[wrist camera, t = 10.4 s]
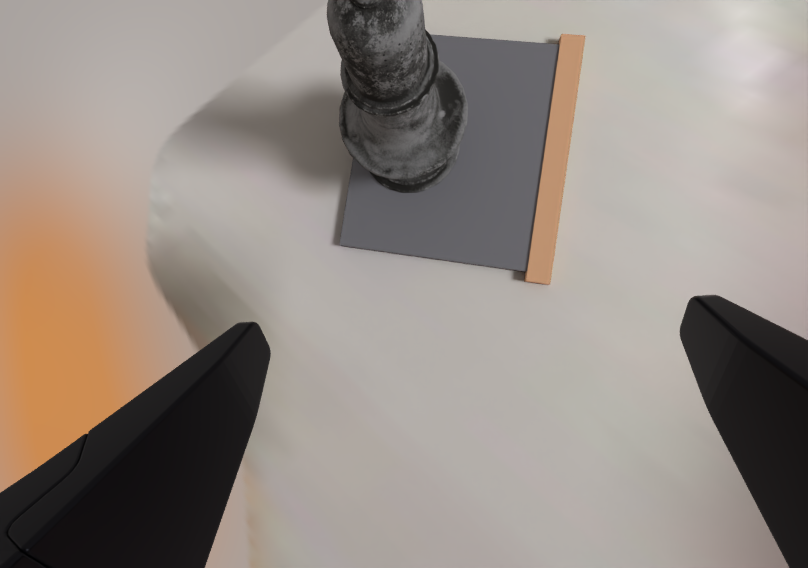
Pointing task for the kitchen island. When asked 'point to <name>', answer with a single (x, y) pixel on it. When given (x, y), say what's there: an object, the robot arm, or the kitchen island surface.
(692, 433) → the kitchen island surface
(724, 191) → the kitchen island surface
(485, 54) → the dough scraper
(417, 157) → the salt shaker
